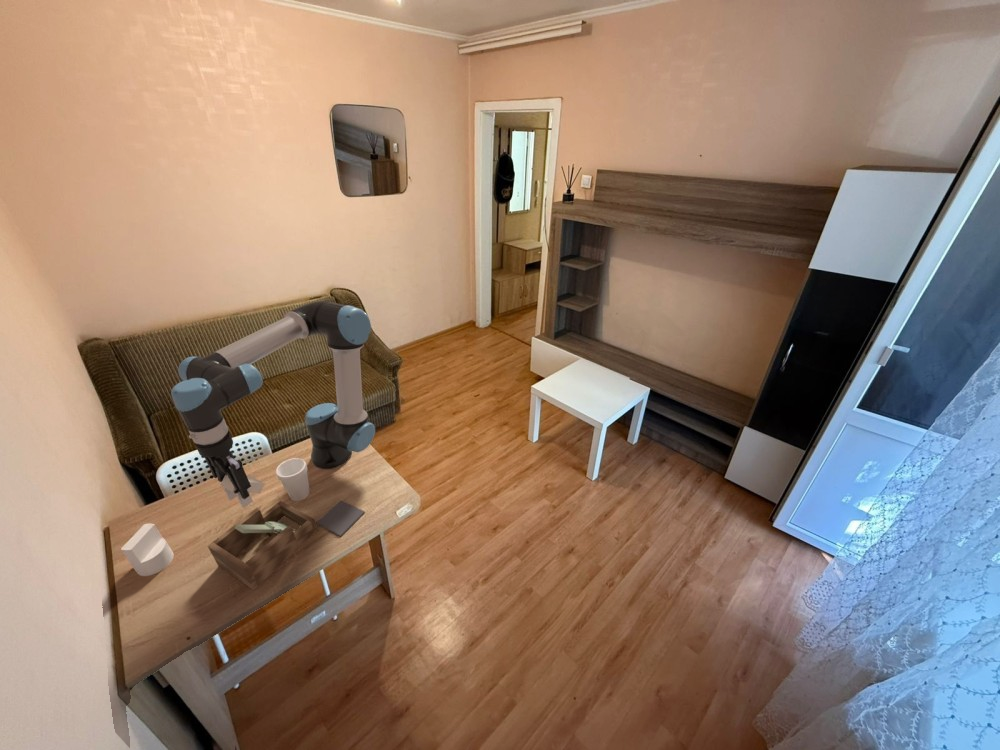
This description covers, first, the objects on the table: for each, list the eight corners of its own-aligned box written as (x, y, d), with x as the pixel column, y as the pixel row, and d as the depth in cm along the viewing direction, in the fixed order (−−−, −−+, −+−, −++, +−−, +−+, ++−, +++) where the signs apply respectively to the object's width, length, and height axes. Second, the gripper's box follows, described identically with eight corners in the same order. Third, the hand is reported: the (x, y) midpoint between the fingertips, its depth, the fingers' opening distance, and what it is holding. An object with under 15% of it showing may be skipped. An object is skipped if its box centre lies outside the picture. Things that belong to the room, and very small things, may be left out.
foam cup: (303, 506, 142) (294, 479, 135) (279, 501, 143) (269, 474, 137) (319, 486, 150) (311, 460, 143) (296, 482, 151) (287, 456, 145)
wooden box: (284, 511, 140) (277, 492, 135) (318, 529, 134) (311, 510, 129) (218, 566, 122) (207, 546, 117) (253, 590, 116) (243, 569, 111)
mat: (341, 500, 144) (340, 499, 144) (364, 512, 140) (364, 511, 140) (316, 523, 136) (316, 522, 135) (340, 536, 132) (340, 535, 131)
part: (248, 487, 118) (253, 477, 119) (260, 493, 116) (264, 483, 117) (220, 485, 110) (225, 474, 111) (231, 492, 108) (237, 481, 109)
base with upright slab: (152, 548, 127) (135, 522, 121) (180, 549, 127) (165, 524, 120) (128, 575, 119) (109, 549, 113) (158, 576, 119) (141, 550, 113)
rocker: (279, 524, 135) (282, 519, 135) (298, 535, 131) (301, 529, 132) (228, 524, 118) (231, 518, 118) (248, 536, 114) (251, 530, 114)
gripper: (174, 434, 103) (207, 498, 115) (219, 457, 96) (249, 522, 108) (204, 418, 108) (233, 480, 120) (248, 438, 101) (274, 503, 114)
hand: (240, 500), depth 114 cm, fingers closed on part, 5 cm apart
